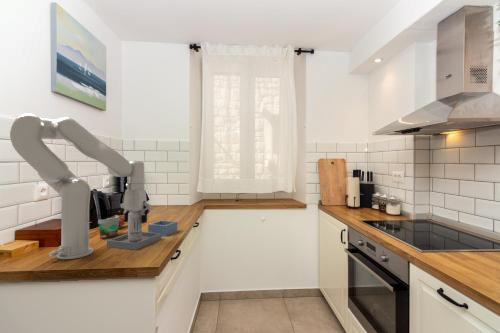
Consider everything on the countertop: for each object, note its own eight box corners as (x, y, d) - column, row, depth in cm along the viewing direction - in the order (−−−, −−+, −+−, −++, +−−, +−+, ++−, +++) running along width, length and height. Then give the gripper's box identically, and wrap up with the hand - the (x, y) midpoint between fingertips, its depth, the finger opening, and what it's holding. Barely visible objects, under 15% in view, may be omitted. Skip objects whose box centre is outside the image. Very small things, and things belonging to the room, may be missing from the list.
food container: (108, 240, 126) (108, 220, 126) (97, 239, 127) (97, 219, 127) (125, 233, 138) (125, 215, 138) (115, 233, 139) (115, 214, 139)
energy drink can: (131, 243, 118) (131, 211, 118) (125, 240, 122) (126, 209, 122) (143, 240, 122) (144, 209, 123) (138, 238, 126) (138, 208, 127)
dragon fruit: (124, 228, 156) (111, 236, 144) (113, 220, 156) (99, 227, 144) (131, 218, 154) (118, 225, 142) (119, 209, 154) (106, 216, 142)
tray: (136, 250, 111) (136, 243, 111) (106, 246, 116) (106, 240, 116) (161, 238, 129) (161, 233, 129) (135, 236, 133) (135, 230, 133)
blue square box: (165, 236, 133) (165, 225, 133) (148, 234, 136) (148, 224, 136) (177, 231, 144) (177, 221, 144) (160, 229, 147) (160, 220, 147)
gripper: (115, 186, 121) (114, 222, 121) (145, 187, 116) (145, 225, 116) (126, 185, 128) (126, 219, 128) (156, 186, 123) (155, 221, 124)
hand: (135, 222), depth 122 cm, fingers open, 9 cm apart
